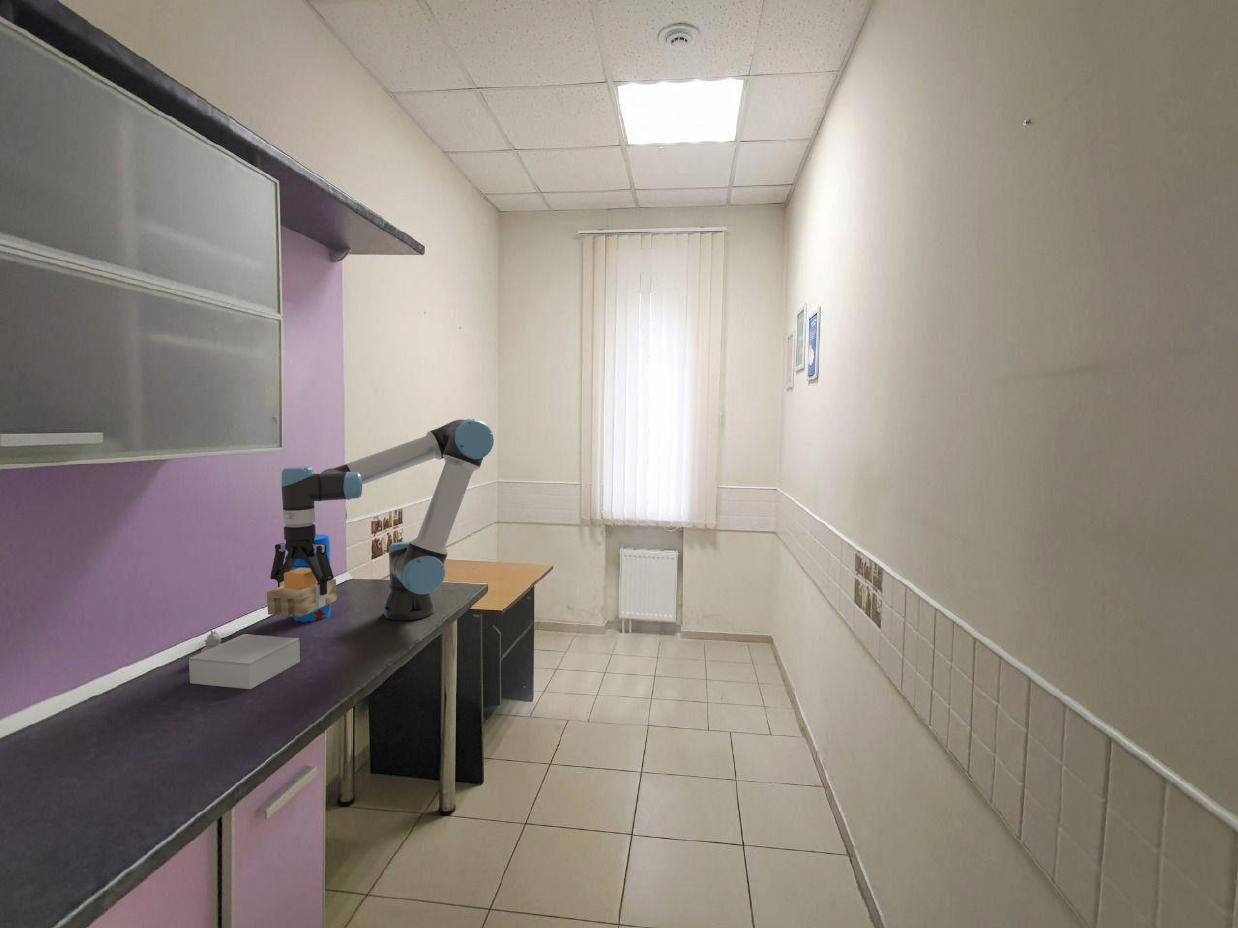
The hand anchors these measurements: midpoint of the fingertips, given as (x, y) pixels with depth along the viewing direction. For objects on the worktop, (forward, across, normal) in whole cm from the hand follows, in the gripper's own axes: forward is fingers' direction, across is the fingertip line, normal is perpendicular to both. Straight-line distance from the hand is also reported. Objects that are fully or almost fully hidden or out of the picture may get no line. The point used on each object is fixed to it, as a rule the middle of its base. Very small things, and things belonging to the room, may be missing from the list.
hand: (303, 605), depth 161 cm
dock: (+11, -1, -18) cm, 21 cm away
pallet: (0, 0, 0) cm, 0 cm away
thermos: (+11, -14, +22) cm, 28 cm away
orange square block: (-6, 0, 0) cm, 6 cm away
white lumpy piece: (+11, -15, -13) cm, 23 cm away
